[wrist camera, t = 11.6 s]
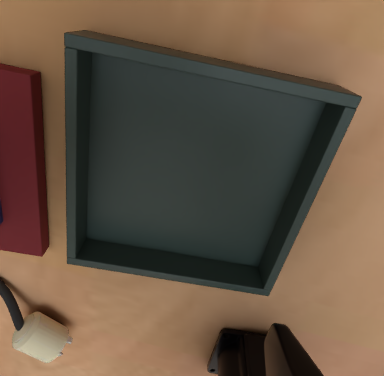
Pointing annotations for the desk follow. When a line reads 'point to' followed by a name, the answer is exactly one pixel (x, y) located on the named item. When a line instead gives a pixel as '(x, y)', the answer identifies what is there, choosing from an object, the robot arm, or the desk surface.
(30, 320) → the cable
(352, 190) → the desk surface
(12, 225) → the dark red flat slab
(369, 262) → the desk surface
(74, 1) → the desk surface
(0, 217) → the blue rectangular block
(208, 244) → the dark green tray
